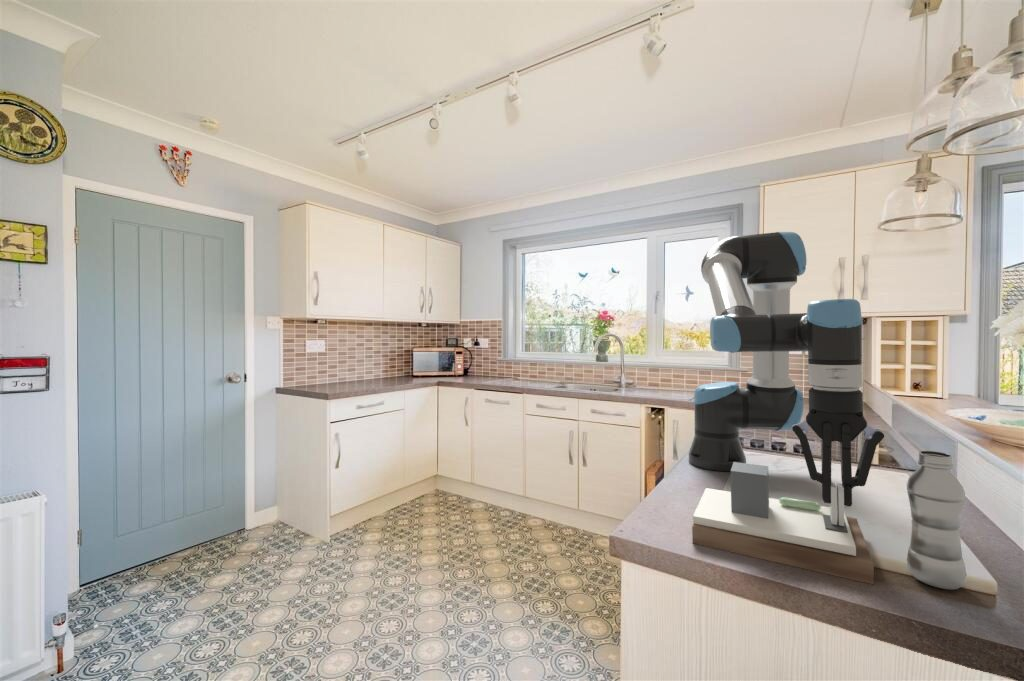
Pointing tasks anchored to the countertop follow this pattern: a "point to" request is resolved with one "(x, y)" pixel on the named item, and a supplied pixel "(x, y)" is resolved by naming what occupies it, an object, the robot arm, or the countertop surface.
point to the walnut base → (793, 551)
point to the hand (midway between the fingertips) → (837, 521)
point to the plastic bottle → (936, 522)
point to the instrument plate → (770, 513)
